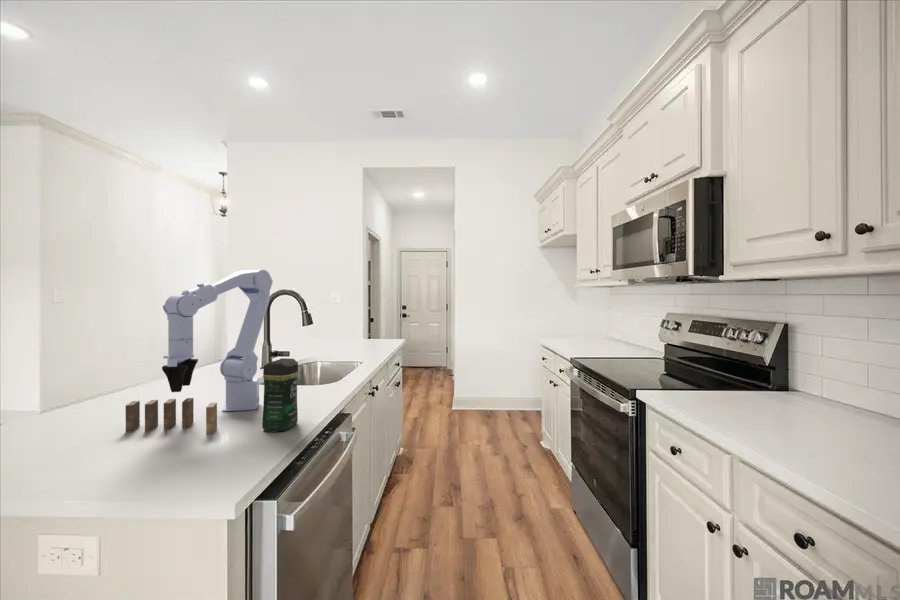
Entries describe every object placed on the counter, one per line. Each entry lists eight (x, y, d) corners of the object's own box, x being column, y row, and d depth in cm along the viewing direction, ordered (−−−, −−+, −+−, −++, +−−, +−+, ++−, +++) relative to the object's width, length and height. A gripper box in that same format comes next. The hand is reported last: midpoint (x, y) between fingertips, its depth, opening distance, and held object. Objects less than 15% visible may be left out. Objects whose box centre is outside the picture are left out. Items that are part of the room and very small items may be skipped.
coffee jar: (287, 433, 111) (287, 362, 110) (257, 432, 111) (258, 361, 111) (302, 422, 120) (302, 356, 120) (274, 421, 121) (275, 356, 120)
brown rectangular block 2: (175, 423, 117) (175, 398, 117) (170, 429, 113) (170, 402, 113) (169, 424, 117) (169, 399, 116) (163, 429, 112) (163, 403, 112)
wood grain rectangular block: (139, 426, 114) (139, 400, 114) (132, 431, 110) (132, 405, 110) (132, 427, 114) (132, 401, 114) (125, 432, 110) (125, 405, 110)
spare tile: (216, 428, 114) (216, 402, 114) (213, 433, 110) (213, 407, 109) (210, 428, 113) (210, 402, 113) (206, 434, 109) (206, 407, 109)
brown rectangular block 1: (158, 425, 116) (158, 399, 116) (152, 430, 111) (151, 404, 111) (151, 425, 115) (151, 400, 115) (144, 431, 111) (144, 404, 111)
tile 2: (193, 422, 118) (193, 397, 118) (188, 427, 114) (188, 401, 114) (186, 423, 118) (186, 398, 118) (182, 428, 114) (182, 402, 113)
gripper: (173, 336, 122) (173, 383, 122) (153, 342, 108) (153, 395, 108) (200, 335, 124) (200, 382, 124) (185, 342, 110) (185, 394, 110)
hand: (180, 388), depth 116 cm, fingers open, 7 cm apart
